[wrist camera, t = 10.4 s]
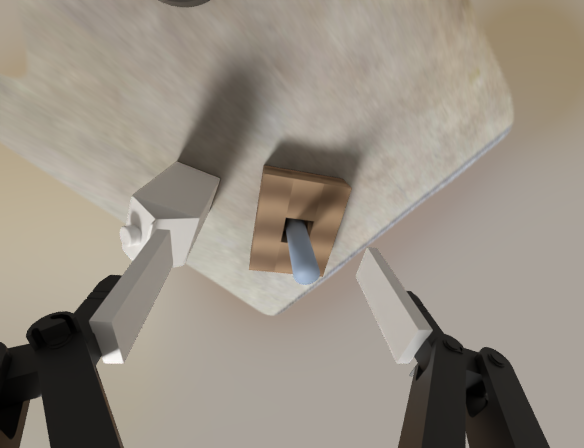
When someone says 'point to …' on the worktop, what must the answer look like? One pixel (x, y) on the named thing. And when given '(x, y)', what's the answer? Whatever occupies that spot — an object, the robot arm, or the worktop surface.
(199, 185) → the milk carton
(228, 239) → the worktop surface
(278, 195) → the bore block
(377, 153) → the worktop surface
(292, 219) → the pin
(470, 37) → the worktop surface
